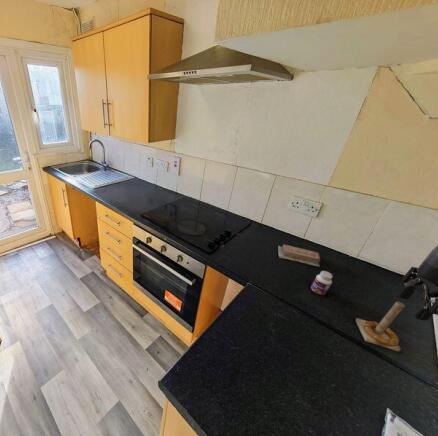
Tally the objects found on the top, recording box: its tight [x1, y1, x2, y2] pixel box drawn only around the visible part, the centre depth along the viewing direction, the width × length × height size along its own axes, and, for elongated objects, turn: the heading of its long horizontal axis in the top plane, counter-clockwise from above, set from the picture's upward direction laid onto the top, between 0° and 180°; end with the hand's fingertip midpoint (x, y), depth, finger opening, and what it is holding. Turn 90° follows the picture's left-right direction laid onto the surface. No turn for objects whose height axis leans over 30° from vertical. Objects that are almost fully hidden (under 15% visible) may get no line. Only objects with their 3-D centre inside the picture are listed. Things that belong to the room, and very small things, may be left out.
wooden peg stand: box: [354, 301, 406, 352], centre depth 75 cm, size 9×9×16 cm
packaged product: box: [277, 244, 321, 268], centre depth 117 cm, size 18×5×10 cm
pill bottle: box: [310, 270, 334, 296], centre depth 94 cm, size 5×5×10 cm
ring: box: [364, 320, 400, 346], centre depth 77 cm, size 9×9×2 cm
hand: (410, 307), depth 68 cm, fingers open, 8 cm apart
